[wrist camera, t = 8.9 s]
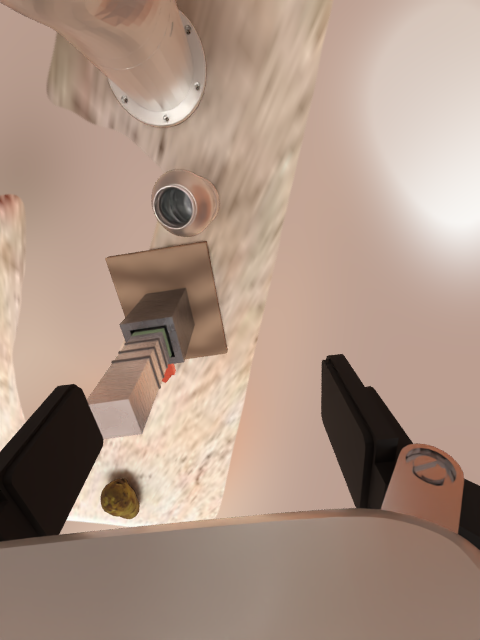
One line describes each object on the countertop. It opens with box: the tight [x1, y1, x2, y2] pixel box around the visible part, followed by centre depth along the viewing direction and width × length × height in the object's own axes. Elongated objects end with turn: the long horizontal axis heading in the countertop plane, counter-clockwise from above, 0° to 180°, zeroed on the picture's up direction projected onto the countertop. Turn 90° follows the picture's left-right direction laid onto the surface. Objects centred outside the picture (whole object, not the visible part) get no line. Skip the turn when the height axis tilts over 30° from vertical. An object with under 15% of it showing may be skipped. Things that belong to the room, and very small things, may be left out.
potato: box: [101, 479, 140, 519], centre depth 65 cm, size 8×13×8 cm, turn 166°
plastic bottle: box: [152, 169, 220, 237], centre depth 34 cm, size 6×7×20 cm
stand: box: [105, 241, 227, 383], centre depth 44 cm, size 20×16×14 cm
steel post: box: [87, 325, 173, 439], centre depth 34 cm, size 4×4×20 cm
